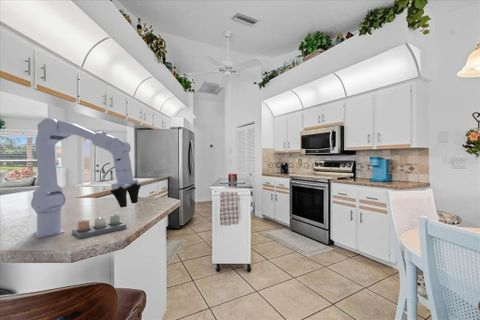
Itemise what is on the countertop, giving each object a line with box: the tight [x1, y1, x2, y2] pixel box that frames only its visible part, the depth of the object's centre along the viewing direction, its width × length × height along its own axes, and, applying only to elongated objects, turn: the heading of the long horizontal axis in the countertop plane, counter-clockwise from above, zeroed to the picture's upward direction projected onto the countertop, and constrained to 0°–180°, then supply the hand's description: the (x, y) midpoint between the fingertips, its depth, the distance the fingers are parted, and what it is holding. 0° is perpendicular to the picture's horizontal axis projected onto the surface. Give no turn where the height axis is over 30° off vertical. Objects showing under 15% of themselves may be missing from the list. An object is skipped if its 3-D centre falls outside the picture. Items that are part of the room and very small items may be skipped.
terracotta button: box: [77, 219, 91, 232], centre depth 87 cm, size 4×4×4 cm
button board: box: [71, 221, 127, 239], centre depth 91 cm, size 10×16×2 cm, turn 139°
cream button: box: [94, 216, 106, 228], centre depth 91 cm, size 4×4×4 cm
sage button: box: [109, 213, 121, 225], centre depth 95 cm, size 4×4×4 cm
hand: (129, 205), depth 89 cm, fingers open, 7 cm apart
